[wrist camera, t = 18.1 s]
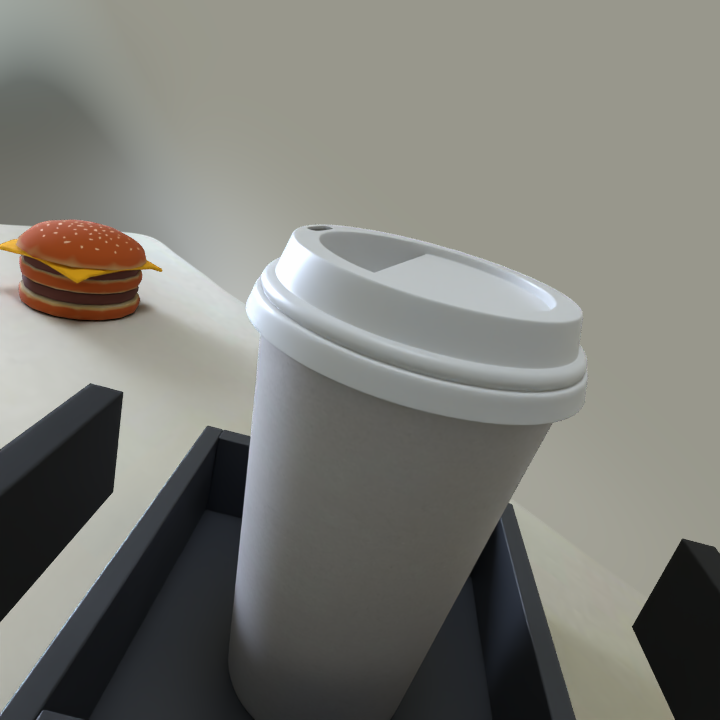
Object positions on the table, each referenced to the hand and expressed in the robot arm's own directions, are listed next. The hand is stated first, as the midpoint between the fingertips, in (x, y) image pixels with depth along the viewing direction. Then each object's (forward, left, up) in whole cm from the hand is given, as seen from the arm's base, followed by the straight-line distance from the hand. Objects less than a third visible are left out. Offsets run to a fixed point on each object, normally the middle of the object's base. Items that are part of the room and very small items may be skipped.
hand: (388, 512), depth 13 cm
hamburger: (+25, -33, -11) cm, 43 cm away
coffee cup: (0, -4, -10) cm, 11 cm away
